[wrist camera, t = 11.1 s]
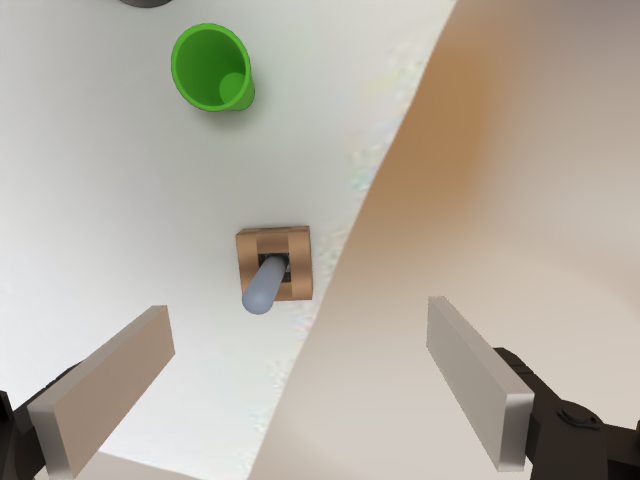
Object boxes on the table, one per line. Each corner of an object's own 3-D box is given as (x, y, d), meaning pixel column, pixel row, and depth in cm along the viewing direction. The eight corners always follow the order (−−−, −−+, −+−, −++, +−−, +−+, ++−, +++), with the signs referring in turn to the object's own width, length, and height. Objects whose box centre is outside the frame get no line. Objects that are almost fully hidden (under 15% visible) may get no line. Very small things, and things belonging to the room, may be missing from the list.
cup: (213, 127, 46) (179, 115, 35) (201, 61, 44) (162, 27, 33) (271, 121, 46) (255, 106, 35) (263, 54, 44) (243, 17, 33)
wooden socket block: (243, 229, 50) (235, 235, 45) (309, 226, 49) (307, 231, 45) (250, 291, 52) (243, 302, 48) (313, 288, 52) (312, 299, 47)
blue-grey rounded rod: (266, 249, 50) (240, 286, 35) (288, 248, 50) (271, 284, 35) (268, 270, 51) (243, 315, 36) (289, 269, 51) (274, 313, 35)
